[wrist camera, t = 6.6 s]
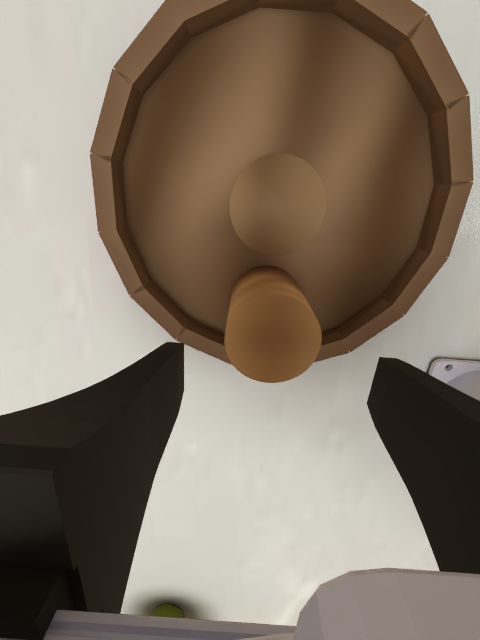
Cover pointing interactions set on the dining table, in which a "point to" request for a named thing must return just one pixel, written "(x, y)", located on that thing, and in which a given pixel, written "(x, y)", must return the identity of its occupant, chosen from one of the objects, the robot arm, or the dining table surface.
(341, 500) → the dining table surface
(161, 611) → the apple
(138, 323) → the dining table surface
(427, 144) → the ring tray
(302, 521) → the dining table surface
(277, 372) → the brown wooden cylinder
